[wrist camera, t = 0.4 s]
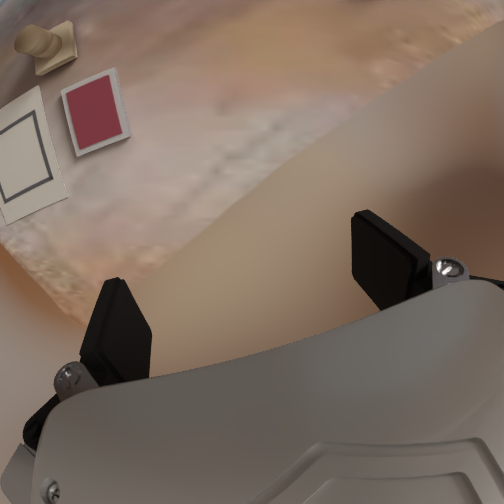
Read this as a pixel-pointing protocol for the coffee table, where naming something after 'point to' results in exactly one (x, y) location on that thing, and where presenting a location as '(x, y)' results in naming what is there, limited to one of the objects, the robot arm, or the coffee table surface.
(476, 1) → the coffee table surface
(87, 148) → the ink pad
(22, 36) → the stamp
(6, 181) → the marked card
